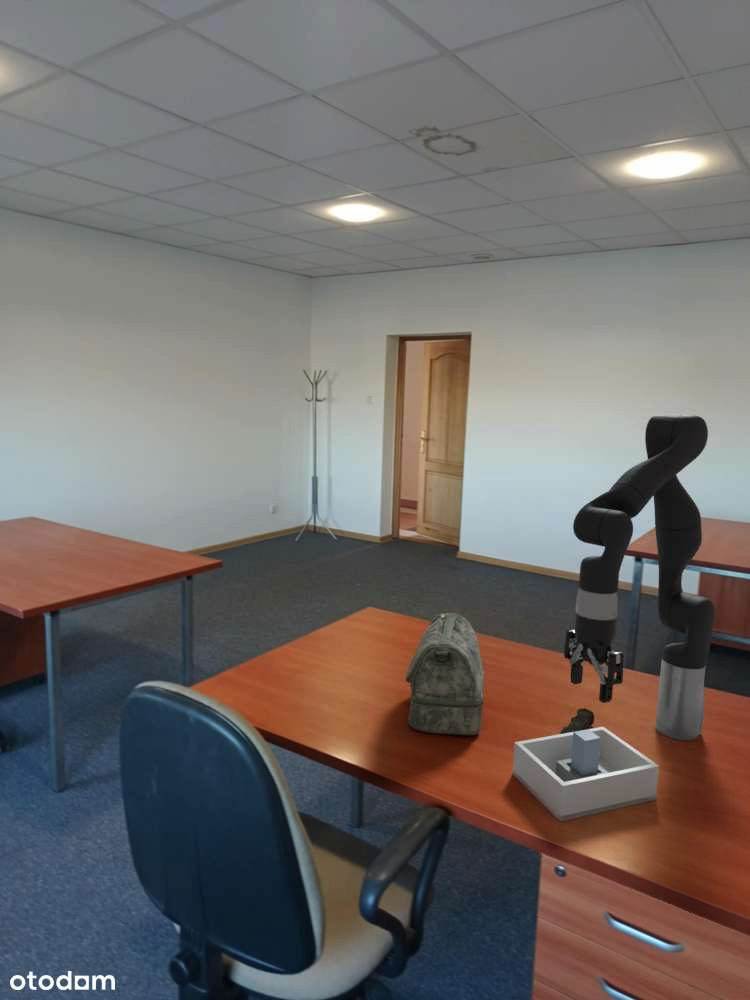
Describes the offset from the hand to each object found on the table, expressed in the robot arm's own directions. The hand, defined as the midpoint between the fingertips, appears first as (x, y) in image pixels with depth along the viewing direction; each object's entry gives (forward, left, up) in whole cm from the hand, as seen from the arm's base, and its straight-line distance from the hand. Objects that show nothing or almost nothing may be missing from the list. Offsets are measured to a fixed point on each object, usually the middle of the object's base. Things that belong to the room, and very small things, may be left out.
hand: (590, 692), depth 126 cm
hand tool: (-11, -16, -20) cm, 28 cm away
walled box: (0, 0, -20) cm, 20 cm away
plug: (0, 0, -19) cm, 19 cm away
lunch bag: (+12, -37, -20) cm, 44 cm away
